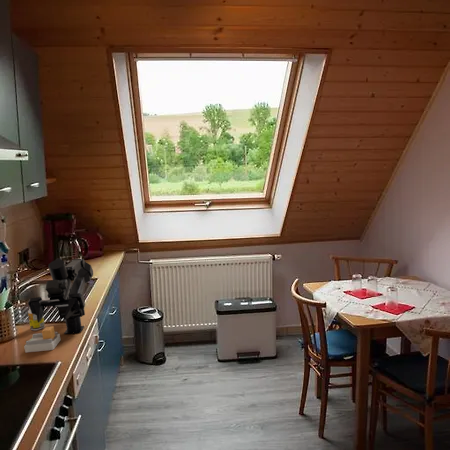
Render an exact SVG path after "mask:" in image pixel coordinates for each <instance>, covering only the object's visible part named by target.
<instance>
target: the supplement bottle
mask: <svg viewBox="0 0 450 450" xmlns="http://www.w3.org/2000/svg"><path fill="white" fill-rule="evenodd" d="M28 308H29V309H28V311H27V315H28V322H29V329H30V330H31V331H39V330H43V329H44V328H45V327H46V325H45V318H44V316H43V317H42V319H41V321H40V322H39V323H38V321H37V315H35V314H32V312H31V310H30V307H29V306H28Z"/></svg>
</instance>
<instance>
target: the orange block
mask: <svg viewBox="0 0 450 450" xmlns="http://www.w3.org/2000/svg"><path fill="white" fill-rule="evenodd" d="M41 330H42V331H41V333H42V335H43V339H52V340H53V338H54V337H55V332H56V331H55V326H54V325H53V326H44V328H42V329H41Z"/></svg>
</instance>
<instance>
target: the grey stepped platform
mask: <svg viewBox="0 0 450 450" xmlns="http://www.w3.org/2000/svg"><path fill="white" fill-rule="evenodd" d="M54 332H55V337H54V338H53V340H52V339H43V335H42V332H39V333H32V336H31V338H30V339H29V340H26V342H25V345H24V352H25V353H35V352H43V351H46V352H47V351H53V350H55V348H56V347H57V345H58V344H59V343H60V342H61V340H62V339H61V333H59V332H58V331H54Z"/></svg>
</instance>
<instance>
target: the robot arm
mask: <svg viewBox="0 0 450 450" xmlns="http://www.w3.org/2000/svg"><path fill="white" fill-rule="evenodd" d="M47 267H48V270H49V273H50V277H51V279H52V280H47V281H46V283H45V291H46V292H47V295H46V296H47V298H48V299H46V300H45V299H42V297H40V296H38V297H37V296H36V297H30V298H29V300H28V302H27V304H28V308H29V307H30V309H29V310H31V312H32V314H35V315H37V321H38V323H39V322H40V321H41V319H42V317H43V318H44V314H45V313H44V312H45V307H46V308H47V307H52V308H57V312H58V315H59V318H60V320H62V319H64V320H65V325H66V326H65V328H66V330H65V331H64V335H69V334H70V335H71V334H80V333H82V332H83V329H84V328H85V326H84V325H82V320H81V319H82V318H81V317H83V316H86V313H85V306H86V301H85V299H84V296H83V291H84V289H85V286H86V284H87V283H89V282H91V281H92V278H93V276H94V270H93V267H92V265H91V264H89V263H88V262H86V261H85V259H84V258H75V259H74V258H73V259H72V260H71V261H70V262H69V263H68V264H67V265H66V264H65V260H62V258H61V257H60V258H56V259H55V260H53V261H51V262H49V263H48V265H47ZM72 281H73V282H72Z"/></svg>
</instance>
